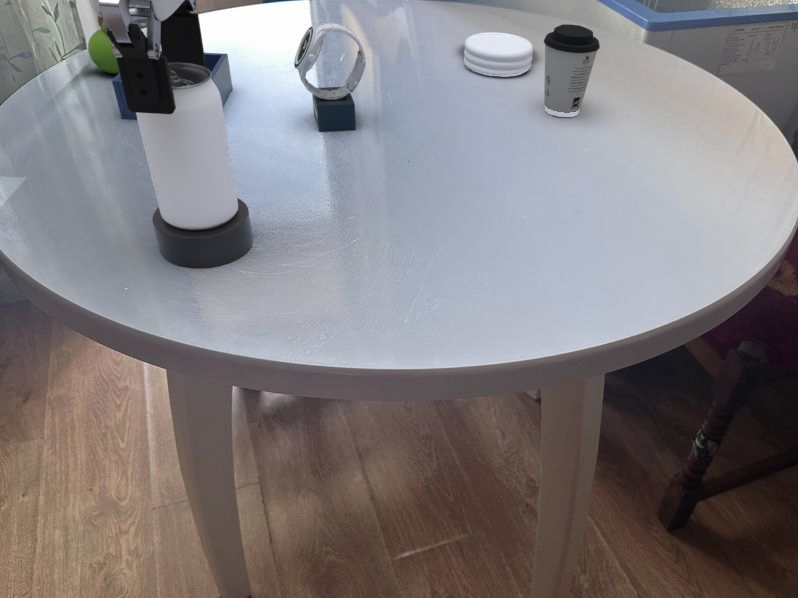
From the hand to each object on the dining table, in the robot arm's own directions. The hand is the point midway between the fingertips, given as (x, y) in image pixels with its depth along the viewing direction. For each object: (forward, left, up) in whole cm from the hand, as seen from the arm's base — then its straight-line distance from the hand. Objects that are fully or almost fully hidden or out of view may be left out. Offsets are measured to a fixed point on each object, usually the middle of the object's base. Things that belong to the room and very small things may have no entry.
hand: (170, 86), depth 55 cm
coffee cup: (+38, +34, -14) cm, 53 cm away
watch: (+9, +28, -14) cm, 33 cm away
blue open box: (-10, +32, -14) cm, 36 cm away
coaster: (+31, +50, -14) cm, 61 cm away
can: (0, 0, -11) cm, 11 cm away
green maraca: (-20, +41, -14) cm, 47 cm away
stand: (0, 0, -14) cm, 14 cm away
